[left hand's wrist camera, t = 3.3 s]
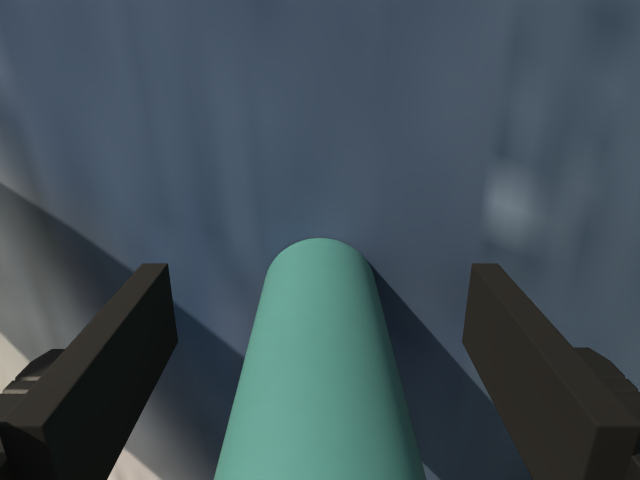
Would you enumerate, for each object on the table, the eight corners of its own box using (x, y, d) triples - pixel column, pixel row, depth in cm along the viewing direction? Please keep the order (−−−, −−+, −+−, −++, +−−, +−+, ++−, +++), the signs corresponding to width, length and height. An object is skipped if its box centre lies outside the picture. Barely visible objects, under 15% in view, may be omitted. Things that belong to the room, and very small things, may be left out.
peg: (262, 237, 14) (151, 564, 5) (377, 237, 14) (488, 565, 5) (266, 336, 16) (186, 747, 6) (373, 336, 16) (453, 746, 6)
